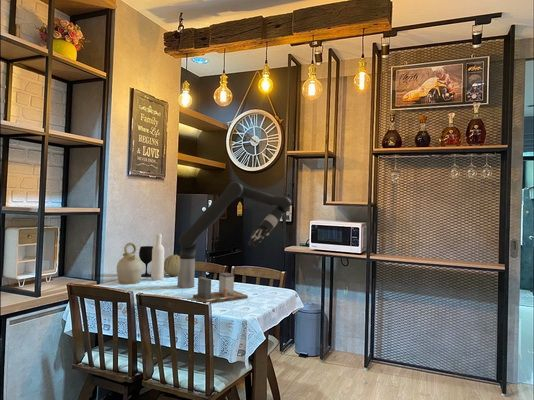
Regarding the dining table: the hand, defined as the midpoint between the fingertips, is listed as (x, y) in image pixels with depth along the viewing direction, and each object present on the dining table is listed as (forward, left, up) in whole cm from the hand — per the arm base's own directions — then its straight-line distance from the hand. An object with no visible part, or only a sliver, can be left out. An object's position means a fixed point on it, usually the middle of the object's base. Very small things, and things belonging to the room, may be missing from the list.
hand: (251, 244), depth 228 cm
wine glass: (-84, +22, -28) cm, 91 cm away
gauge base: (-12, -16, -28) cm, 34 cm away
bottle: (-70, +14, -28) cm, 77 cm away
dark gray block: (-17, -24, -27) cm, 40 cm away
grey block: (-8, -14, -26) cm, 31 cm away
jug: (-80, -2, -28) cm, 85 cm away
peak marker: (-7, -19, -26) cm, 33 cm away
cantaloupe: (-67, +30, -28) cm, 79 cm away
